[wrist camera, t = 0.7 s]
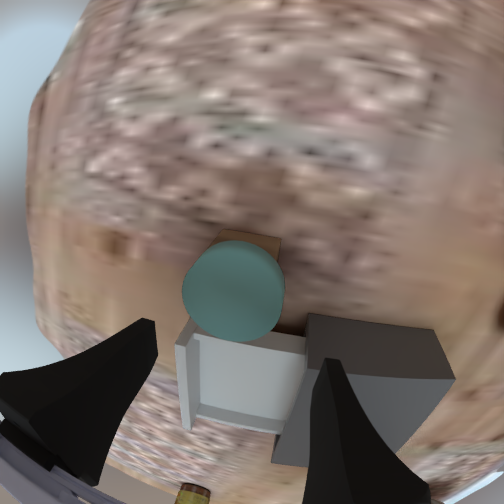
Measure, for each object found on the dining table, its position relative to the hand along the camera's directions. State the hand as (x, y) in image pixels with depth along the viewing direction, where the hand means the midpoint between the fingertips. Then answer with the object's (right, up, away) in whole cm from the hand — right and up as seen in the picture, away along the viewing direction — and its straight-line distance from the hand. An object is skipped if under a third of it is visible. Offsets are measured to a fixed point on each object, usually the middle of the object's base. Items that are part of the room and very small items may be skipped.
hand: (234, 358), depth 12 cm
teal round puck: (0, +2, +6) cm, 7 cm away
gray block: (+10, -8, +12) cm, 17 cm away
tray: (0, -6, +12) cm, 14 cm away
